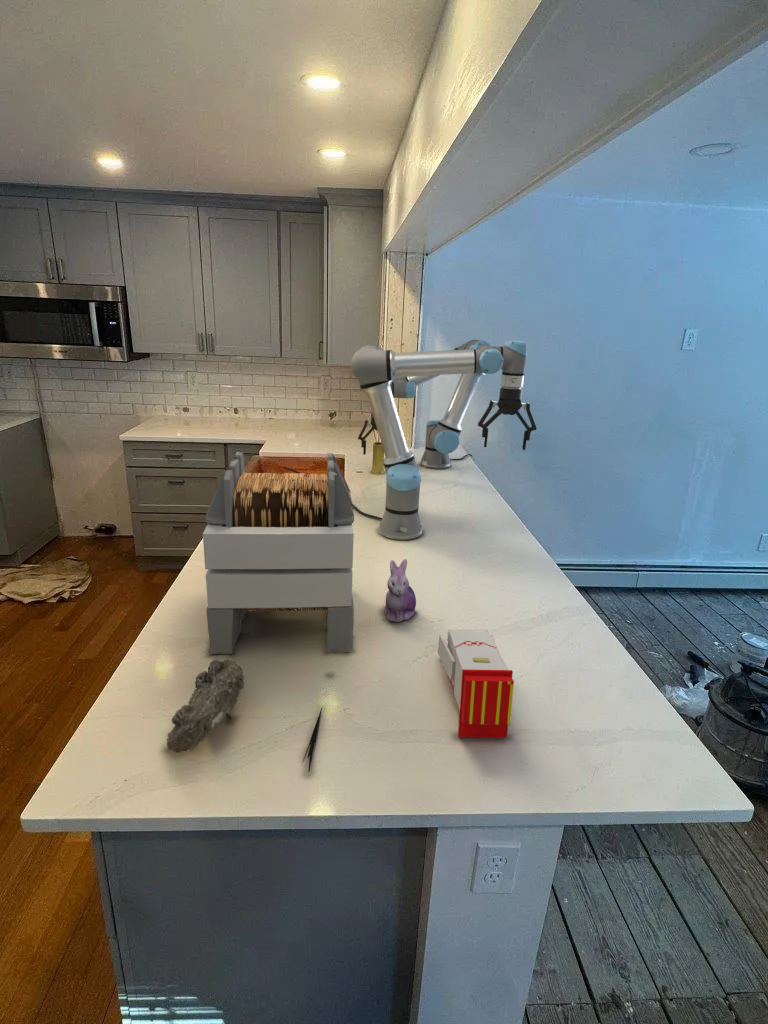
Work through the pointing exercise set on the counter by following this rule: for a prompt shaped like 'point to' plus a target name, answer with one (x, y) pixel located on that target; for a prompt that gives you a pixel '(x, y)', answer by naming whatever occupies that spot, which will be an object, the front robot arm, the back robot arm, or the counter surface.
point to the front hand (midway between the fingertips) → (504, 447)
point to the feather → (313, 740)
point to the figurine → (399, 594)
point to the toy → (478, 682)
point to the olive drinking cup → (378, 458)
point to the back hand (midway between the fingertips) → (378, 455)
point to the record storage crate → (279, 550)
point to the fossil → (206, 705)
